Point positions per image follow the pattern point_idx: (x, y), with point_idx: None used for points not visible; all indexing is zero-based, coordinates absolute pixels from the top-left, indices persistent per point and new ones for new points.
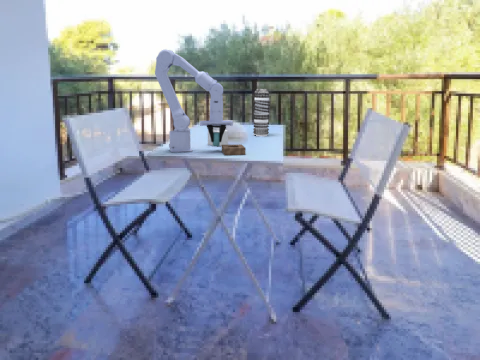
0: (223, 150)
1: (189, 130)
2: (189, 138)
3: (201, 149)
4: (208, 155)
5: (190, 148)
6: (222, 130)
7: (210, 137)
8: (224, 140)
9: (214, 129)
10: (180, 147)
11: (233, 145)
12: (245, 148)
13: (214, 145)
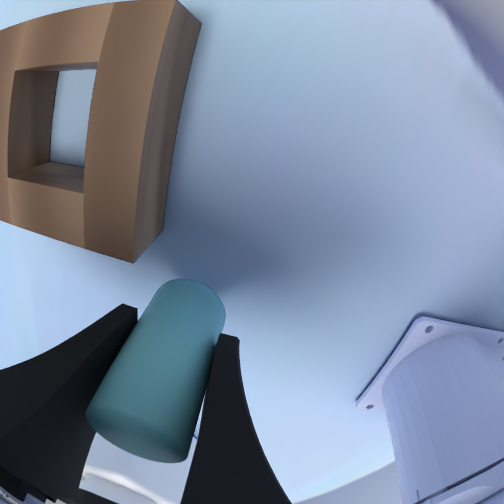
0: (167, 108)
1: (454, 491)
2: (440, 425)
3: (297, 370)
4: (374, 83)
5: (378, 385)
6: (14, 392)
7: (178, 468)
8: None
9: (141, 500)
10: (483, 353)
11: (33, 181)
12: (2, 31)
13: (213, 299)
